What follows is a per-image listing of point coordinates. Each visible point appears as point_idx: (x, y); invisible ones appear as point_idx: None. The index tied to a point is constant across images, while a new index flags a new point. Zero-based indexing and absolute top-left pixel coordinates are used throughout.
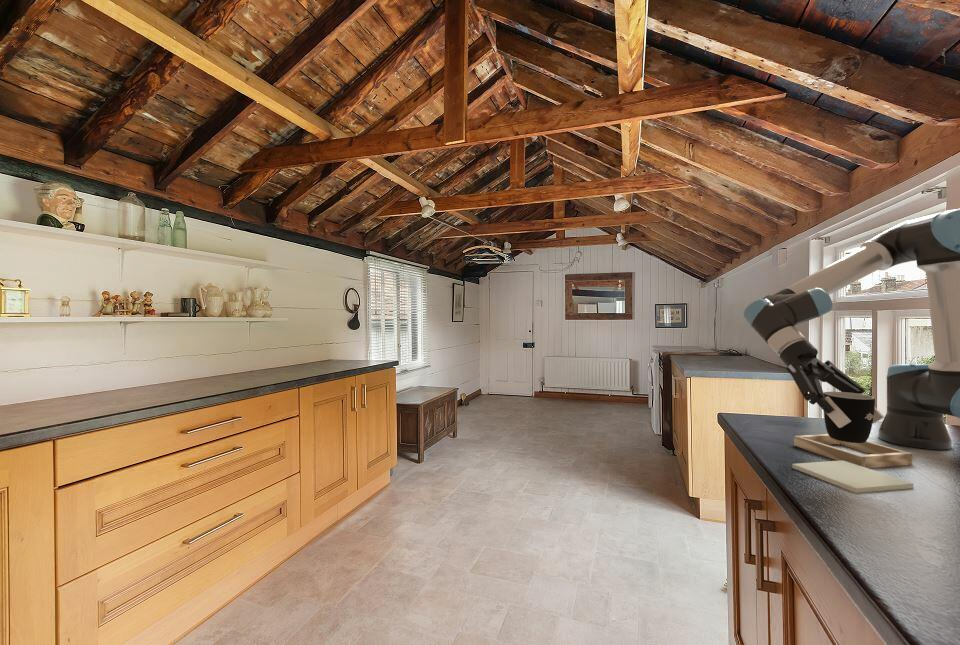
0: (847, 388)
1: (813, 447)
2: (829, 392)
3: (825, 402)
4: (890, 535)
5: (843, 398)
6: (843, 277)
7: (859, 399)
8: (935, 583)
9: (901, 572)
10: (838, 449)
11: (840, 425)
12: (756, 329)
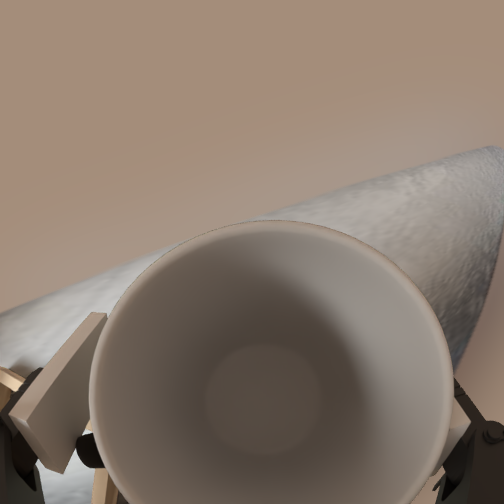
0: (23, 501)
1: None
2: None
3: (465, 406)
4: (437, 211)
5: (436, 325)
6: None
7: (373, 250)
8: (466, 160)
9: (480, 177)
10: (103, 487)
11: None
12: None
